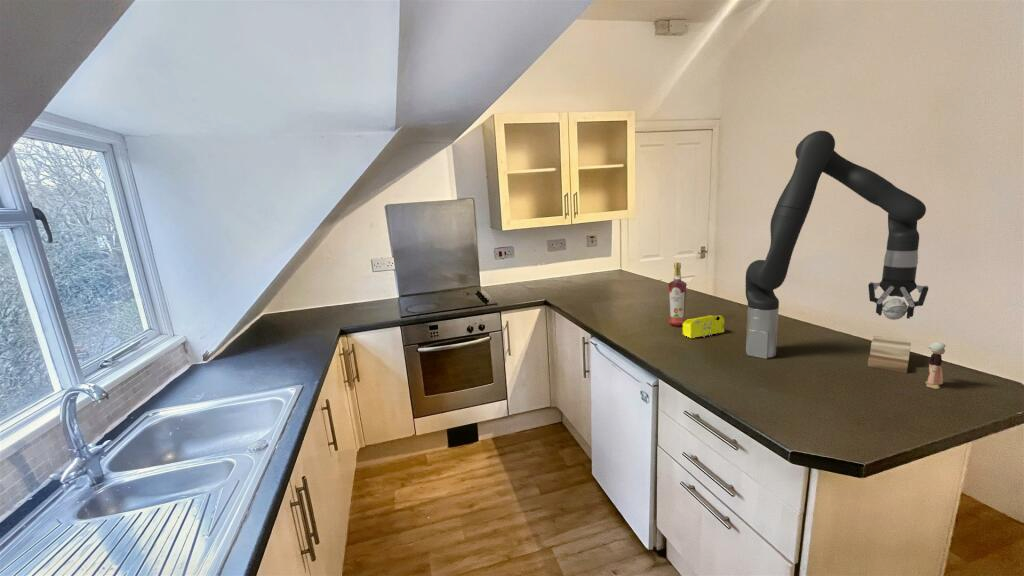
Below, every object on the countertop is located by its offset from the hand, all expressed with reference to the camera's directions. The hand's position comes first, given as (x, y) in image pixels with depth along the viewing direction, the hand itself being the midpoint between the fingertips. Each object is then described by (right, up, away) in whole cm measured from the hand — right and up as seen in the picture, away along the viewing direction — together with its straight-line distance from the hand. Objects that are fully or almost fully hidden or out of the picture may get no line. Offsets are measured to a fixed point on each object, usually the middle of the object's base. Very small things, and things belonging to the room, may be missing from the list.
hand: (893, 316), depth 130 cm
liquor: (-47, -8, +53) cm, 71 cm away
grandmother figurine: (-2, -19, -14) cm, 23 cm away
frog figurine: (0, -1, 0) cm, 1 cm away
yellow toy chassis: (-42, -11, +38) cm, 58 cm away
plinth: (-1, -15, +1) cm, 15 cm away
